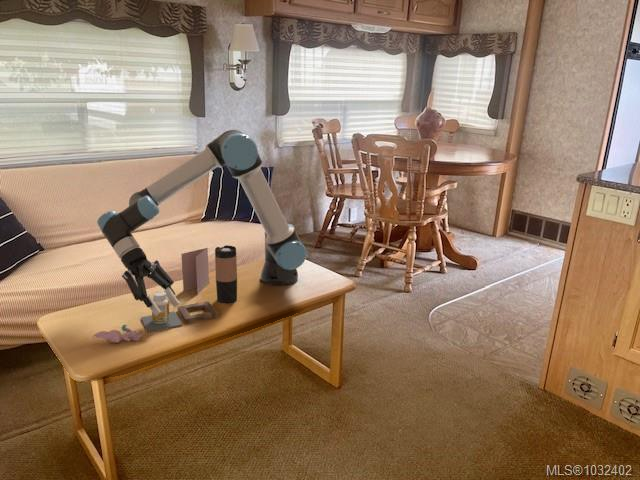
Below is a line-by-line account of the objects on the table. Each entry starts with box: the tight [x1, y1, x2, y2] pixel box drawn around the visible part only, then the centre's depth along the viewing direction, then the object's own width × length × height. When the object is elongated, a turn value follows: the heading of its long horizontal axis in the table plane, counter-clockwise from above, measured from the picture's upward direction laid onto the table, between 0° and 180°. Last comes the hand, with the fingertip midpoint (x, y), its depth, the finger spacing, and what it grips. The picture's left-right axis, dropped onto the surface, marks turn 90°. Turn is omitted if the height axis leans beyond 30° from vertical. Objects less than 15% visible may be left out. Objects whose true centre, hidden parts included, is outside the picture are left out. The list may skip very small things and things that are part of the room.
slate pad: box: [140, 310, 183, 334], centre depth 171 cm, size 11×11×1 cm
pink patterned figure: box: [92, 324, 146, 344], centre depth 157 cm, size 6×6×15 cm
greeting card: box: [180, 247, 210, 295], centre depth 196 cm, size 11×7×15 cm, turn 135°
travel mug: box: [214, 245, 238, 305], centre depth 186 cm, size 8×8×20 cm
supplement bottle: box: [151, 290, 170, 324], centre depth 169 cm, size 5×5×10 cm
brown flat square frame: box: [177, 300, 219, 324], centre depth 177 cm, size 11×11×2 cm
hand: (167, 309), depth 168 cm, fingers open, 7 cm apart
